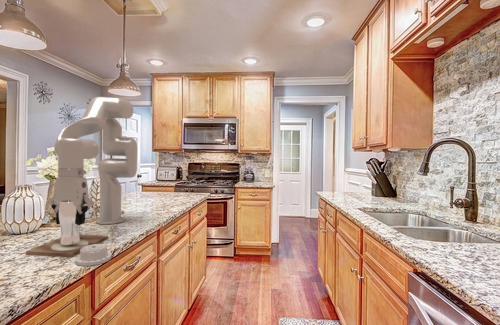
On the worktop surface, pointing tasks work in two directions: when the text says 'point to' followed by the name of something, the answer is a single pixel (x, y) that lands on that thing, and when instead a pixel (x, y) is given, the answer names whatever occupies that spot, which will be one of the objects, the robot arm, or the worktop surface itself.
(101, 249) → the mechanical component
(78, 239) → the beer glass
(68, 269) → the worktop surface
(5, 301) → the worktop surface
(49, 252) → the carrier plate
